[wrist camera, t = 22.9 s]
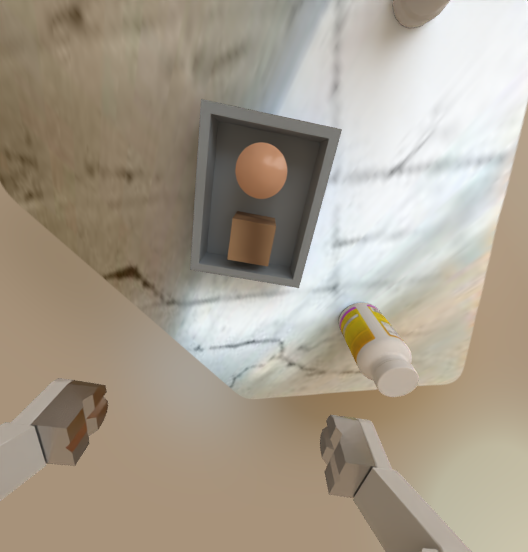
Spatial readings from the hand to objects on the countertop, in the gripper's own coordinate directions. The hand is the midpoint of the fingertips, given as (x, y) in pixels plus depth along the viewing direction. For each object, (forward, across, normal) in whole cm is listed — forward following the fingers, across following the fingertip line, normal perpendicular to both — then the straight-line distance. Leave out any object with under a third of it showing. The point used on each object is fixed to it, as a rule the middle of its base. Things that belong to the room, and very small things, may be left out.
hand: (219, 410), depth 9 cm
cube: (+26, 0, 0) cm, 27 cm away
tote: (+27, 0, -4) cm, 27 cm away
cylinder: (+26, 0, -8) cm, 28 cm away
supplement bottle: (+27, -19, +11) cm, 35 cm away
